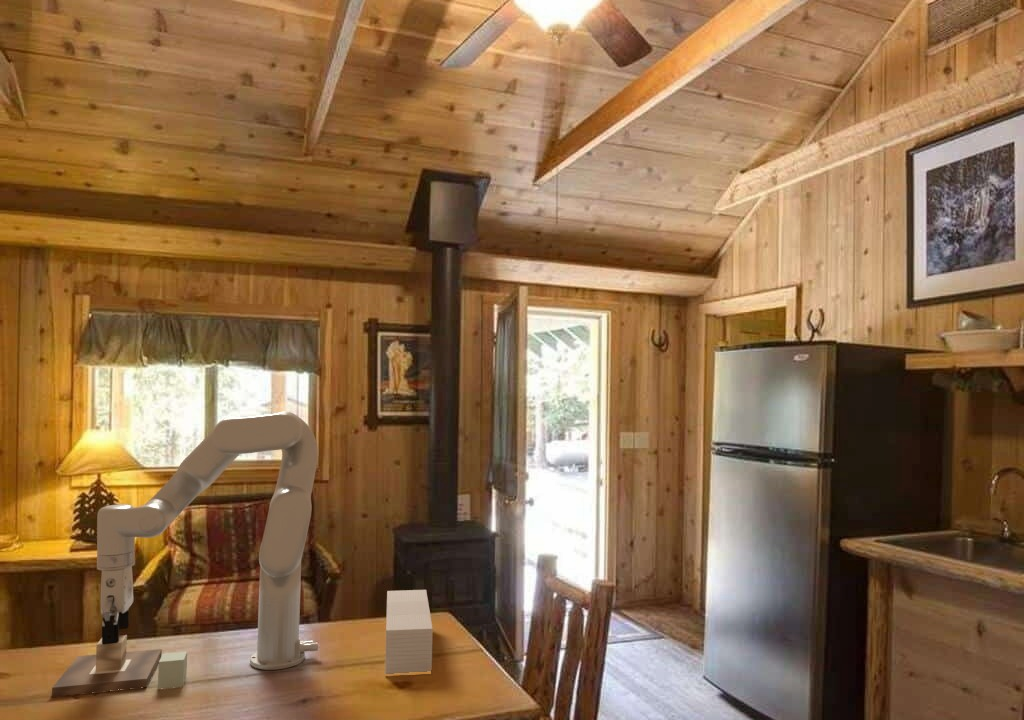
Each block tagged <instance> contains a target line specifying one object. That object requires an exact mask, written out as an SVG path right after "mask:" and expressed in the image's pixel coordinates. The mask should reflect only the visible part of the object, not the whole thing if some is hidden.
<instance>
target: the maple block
mask: <svg viewBox="0 0 1024 720" xmlns="http://www.w3.org/2000/svg"><path fill="white" fill-rule="evenodd" d="M127 639H128V635H127V634H125V635H119V641H118V643H113V644H102V637H100V639H99V641H98V642H97V643H96V647H95V648H96V649H95V650H96V651H95V655H96V671H95V672H101V671H112V670H121V668H122V667H123V665H124V664H125V662H126V652H127V642H128V641H127Z"/></svg>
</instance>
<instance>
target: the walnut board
mask: <svg viewBox="0 0 1024 720" xmlns="http://www.w3.org/2000/svg"><path fill="white" fill-rule="evenodd" d="M162 650H163V649H162V648H161V649H148V650H138V651H135V650H134V651H126V662H125V664H124V665H123V667H122V668H121V670H112V671H101V672H95V671H96V654H90V655H89V654H88V655H77V656H76V657H75V658H74V659H73V661H72V662H71V663H70V664H69V666H68V667H67V668H66V670H64V672H63V673H62V674H61V676H60V677H59V679H57V681H56V682H55V683H54V685H53V686H52V688H51V698H58V697H57V696H60V697H66V696H65V695H70V696H74V695H73V694H80V695H83V694H82V693H90V694H93V693H92V692H100V693H104V692H103V691H110V690H118V689H119V690H120V689H130V688H141V687H147V688H148V686H149V684H150V682H149V681H151V680H150V679H152V678H151V677H153V676H152V675H154V674H155V672H154V671H156V669H157V667H158V666H159V661H160V659H161V657H162V654H163V651H162ZM153 673H154V674H153ZM148 683H149V684H148ZM147 685H148V686H147ZM141 689H142V688H141ZM110 692H111V691H110Z"/></svg>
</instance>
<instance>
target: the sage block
mask: <svg viewBox="0 0 1024 720" xmlns="http://www.w3.org/2000/svg"><path fill="white" fill-rule="evenodd" d="M187 665H188V651H176V652H175V651H174V652H166V653H163V652H162V655H161V659H160V661H159V663H158V673H157V674H158V677H157V690H158V689H160V690H162V689H161V688H170V689H174V688H173V687H180V688H183V687H184V686H185V683H186V680H187V668H188V666H187ZM185 679H186V680H185ZM184 682H185V683H184ZM183 685H184V686H183ZM182 686H183V687H182Z"/></svg>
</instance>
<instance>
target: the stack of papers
mask: <svg viewBox="0 0 1024 720" xmlns="http://www.w3.org/2000/svg"><path fill="white" fill-rule="evenodd" d="M386 591H387V592H386V617H385V619H386V626H385V659H384V660H385V661H384V662H385V666H384V668H385V670H384V675H385V674H394V673H409V672H427V671H431V670H433V669H432V668H433V667H432V666H433V631H434V630H433V623H432V616H431V611H430V606H429V605H430V604H429V599H428V594H427V593H428V592H427V589H412V590H411V589H409V590H408V589H407V590H404V589H402V590H386Z"/></svg>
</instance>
